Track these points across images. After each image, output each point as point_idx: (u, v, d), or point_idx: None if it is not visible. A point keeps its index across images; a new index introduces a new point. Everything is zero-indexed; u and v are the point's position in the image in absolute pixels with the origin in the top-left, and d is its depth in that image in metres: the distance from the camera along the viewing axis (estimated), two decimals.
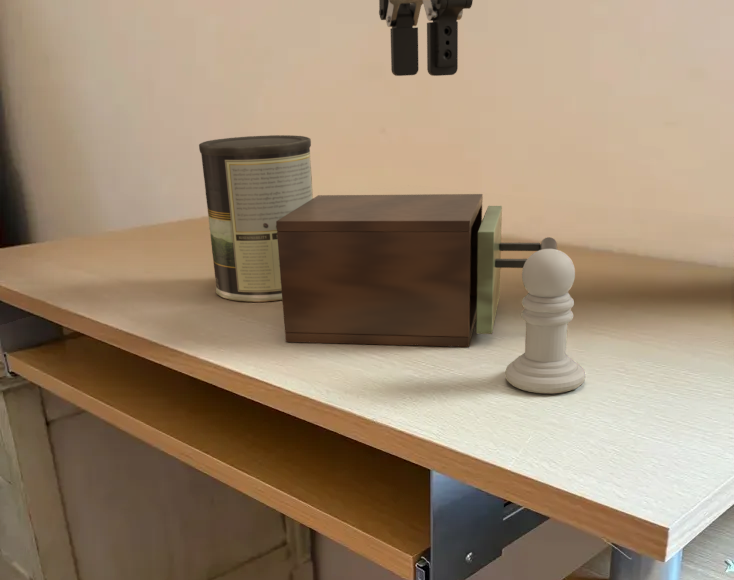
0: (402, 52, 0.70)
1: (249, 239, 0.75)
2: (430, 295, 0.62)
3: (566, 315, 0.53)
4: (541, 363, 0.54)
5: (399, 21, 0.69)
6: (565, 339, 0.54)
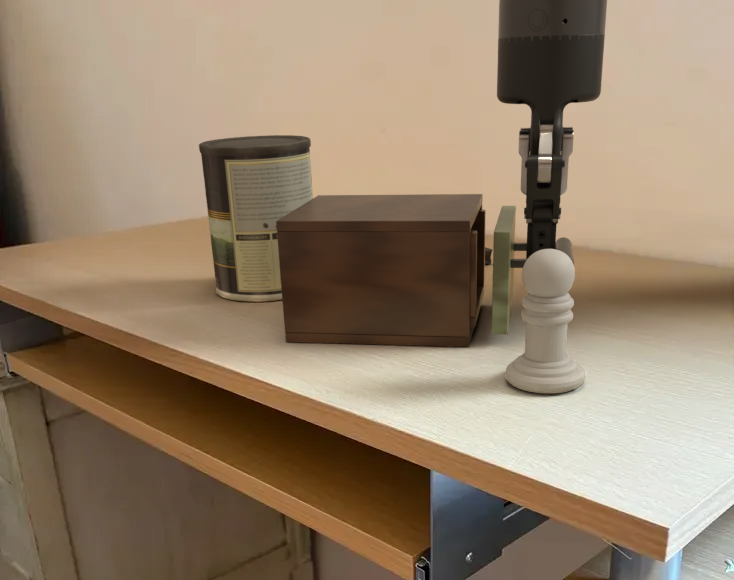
0: None
1: (249, 239, 0.75)
2: (430, 295, 0.62)
3: (566, 315, 0.53)
4: (541, 363, 0.54)
5: None
6: (565, 339, 0.54)
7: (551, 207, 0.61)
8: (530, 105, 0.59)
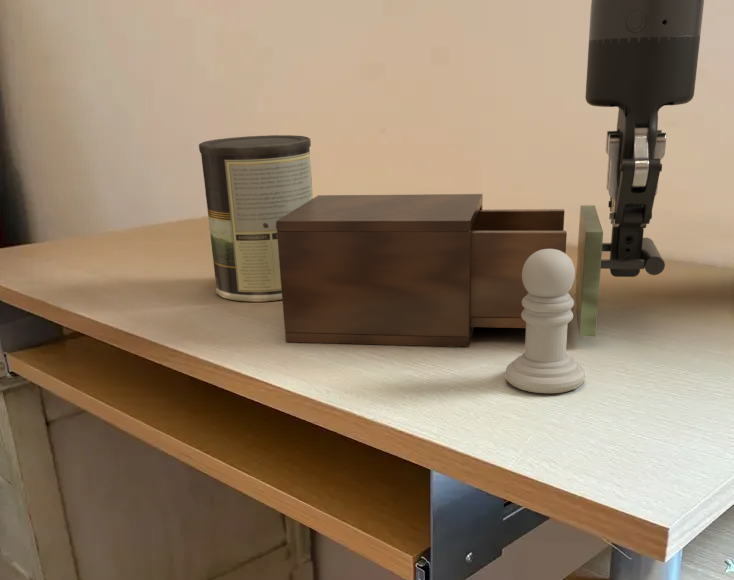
0: None
1: (249, 239, 0.75)
2: (430, 295, 0.62)
3: (566, 315, 0.53)
4: (541, 363, 0.54)
5: None
6: (565, 339, 0.54)
7: (642, 212, 0.60)
8: (623, 108, 0.58)
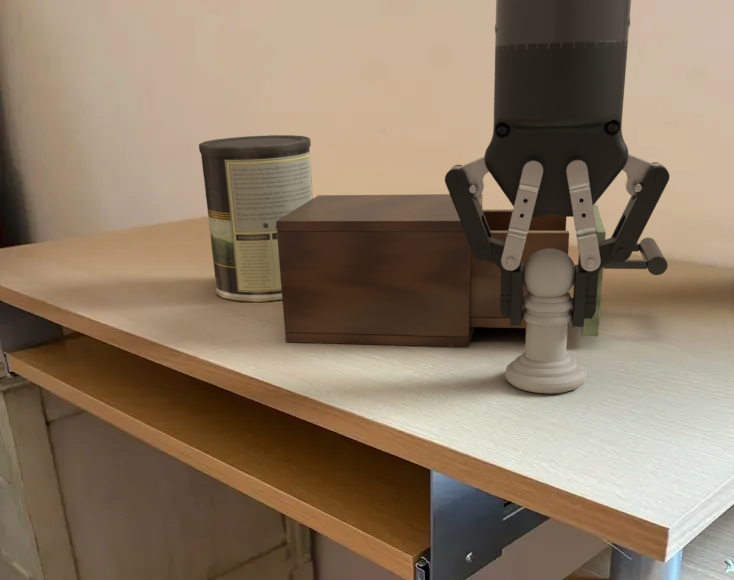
0: (573, 295, 0.54)
1: (249, 239, 0.75)
2: (430, 295, 0.62)
3: (566, 315, 0.53)
4: (541, 363, 0.54)
5: None
6: (565, 339, 0.54)
7: None
8: None
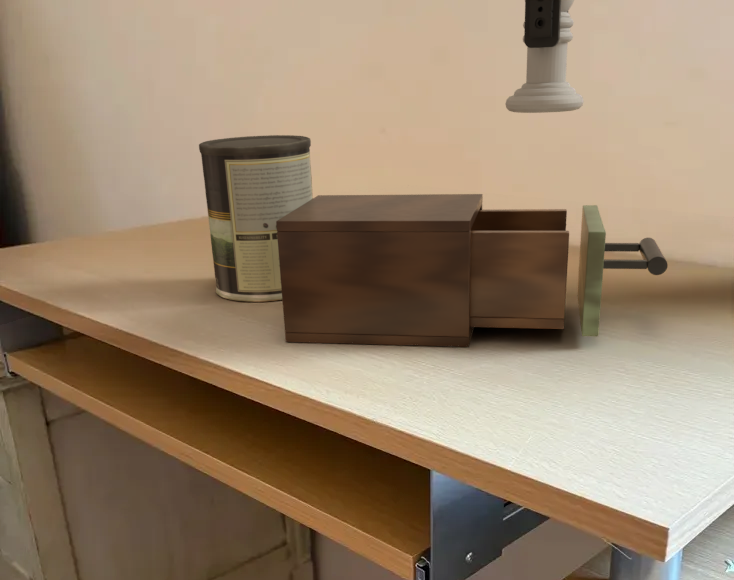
0: None
1: (249, 239, 0.75)
2: (430, 295, 0.62)
3: None
4: (567, 82, 0.57)
5: None
6: None
7: None
8: None
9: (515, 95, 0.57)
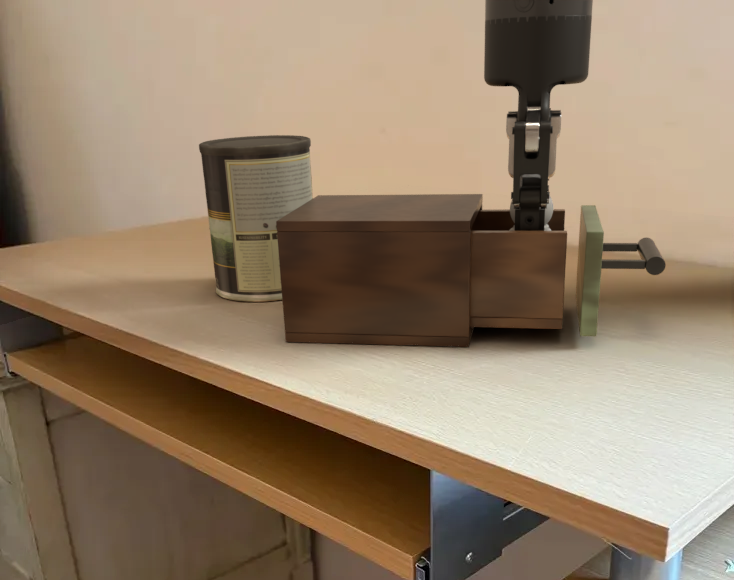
0: None
1: (249, 239, 0.75)
2: (430, 295, 0.62)
3: None
4: None
5: None
6: None
7: (539, 191, 0.59)
8: (517, 87, 0.59)
9: None
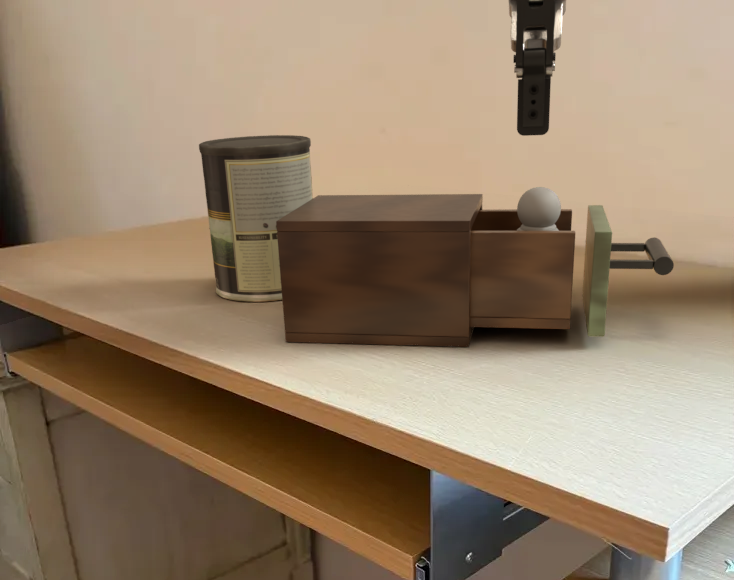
0: None
1: (249, 239, 0.75)
2: (430, 295, 0.62)
3: None
4: None
5: None
6: None
7: (544, 51, 0.54)
8: None
9: None
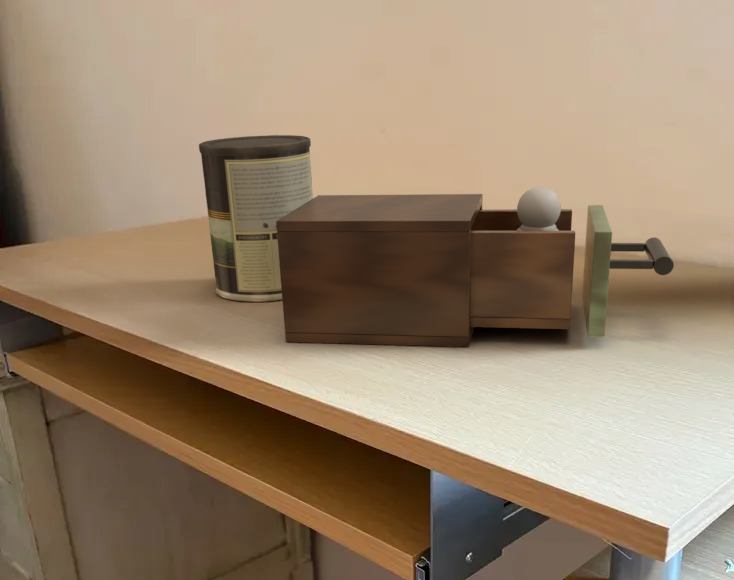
0: None
1: (249, 239, 0.75)
2: (430, 295, 0.62)
3: None
4: None
5: None
6: None
7: None
8: None
9: None
